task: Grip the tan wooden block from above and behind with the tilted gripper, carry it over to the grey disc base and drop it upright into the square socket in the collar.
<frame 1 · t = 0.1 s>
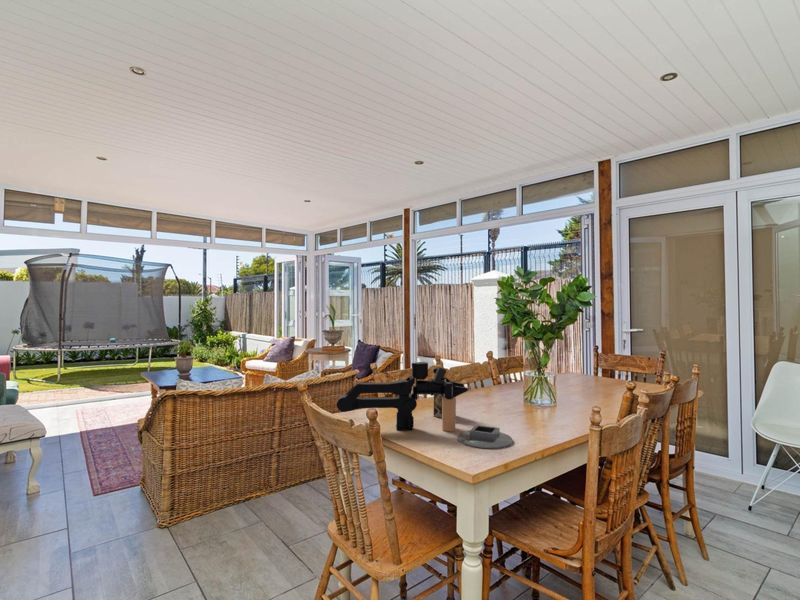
hand: (465, 387, 179), 17 cm above the table, tool horizontal, fingers open, 9 cm apart
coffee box: (444, 416, 197), on the table
grey disc base: (484, 440, 162), on the table
tan wooden block: (448, 429, 176), on the table
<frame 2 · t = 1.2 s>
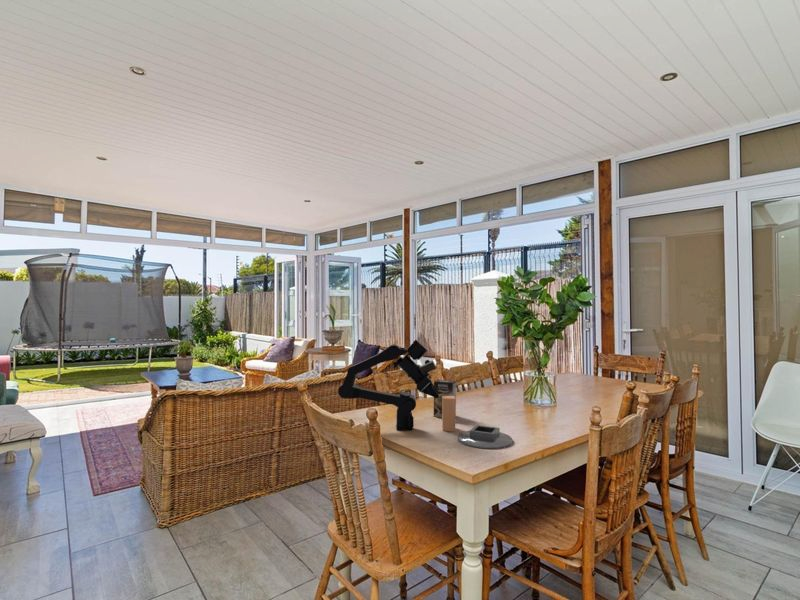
hand: (437, 395, 176), 14 cm above the table, tool tilted 45°, fingers open, 9 cm apart
nothing on the table moved.
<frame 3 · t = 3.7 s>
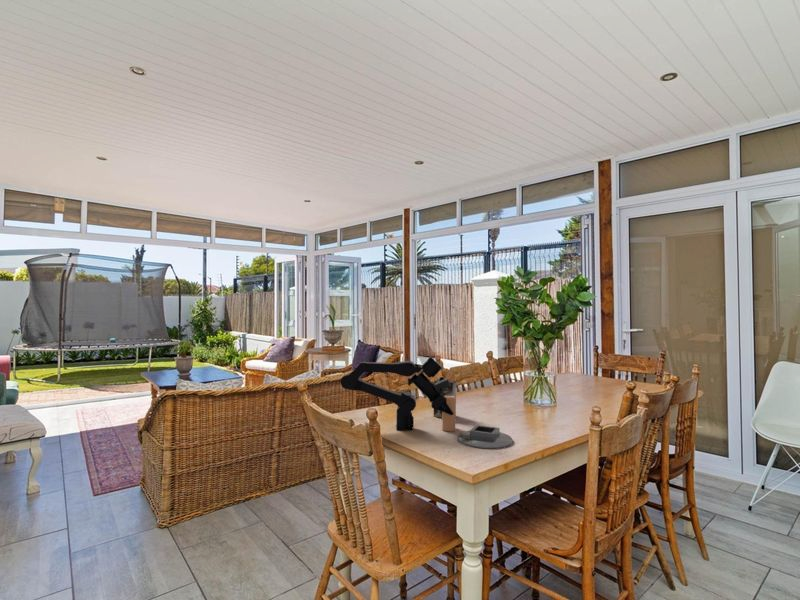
hand: (452, 412, 176), 7 cm above the table, tool tilted 45°, fingers closed on tan wooden block, 5 cm apart
tan wooden block: (448, 429, 176), on the table, touching gripper
everything else where it was.
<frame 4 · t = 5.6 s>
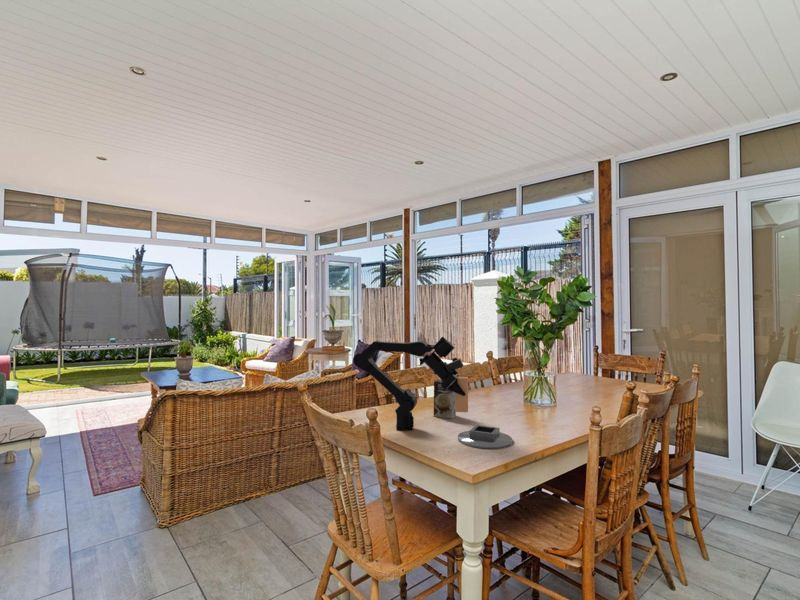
hand: (465, 393, 172), 15 cm above the table, tool tilted 45°, fingers closed on tan wooden block, 5 cm apart
tan wooden block: (461, 410, 172), point 8 cm above the table, touching gripper
everything else where it was.
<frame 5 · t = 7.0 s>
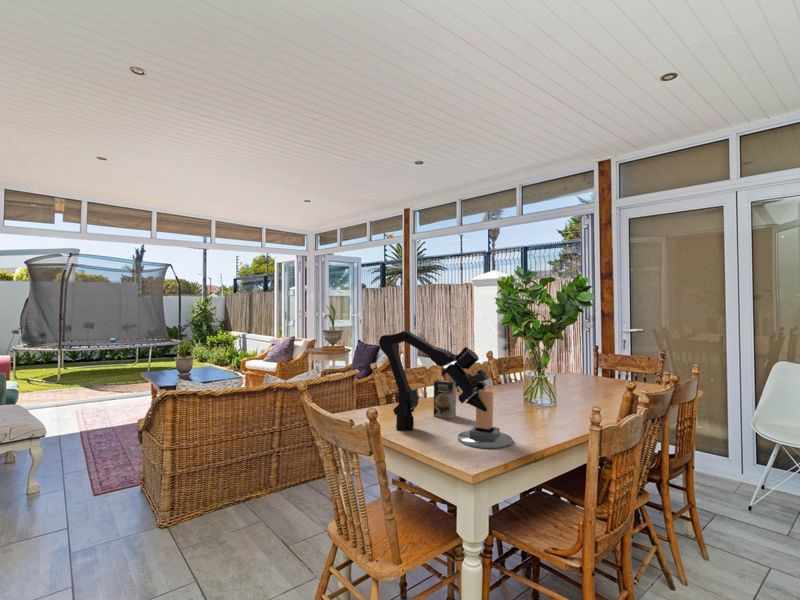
hand: (488, 409, 161), 12 cm above the table, tool tilted 45°, fingers closed on tan wooden block, 5 cm apart
tan wooden block: (484, 426, 162), point 5 cm above the table, touching gripper
everything else where it was.
when the fingers open (9 cm above the table, at t = 7.9 s): tan wooden block drops 1 cm, resting on grey disc base.
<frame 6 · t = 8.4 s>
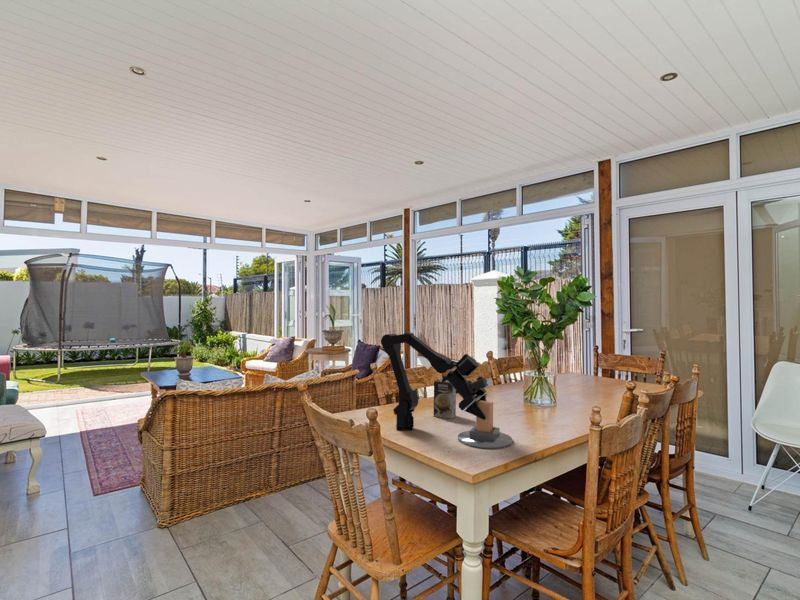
hand: (488, 416, 161), 9 cm above the table, tool tilted 45°, fingers open, 9 cm apart
tan wooden block: (484, 437, 162), point 1 cm above the table, touching grey disc base
everything else where it was.
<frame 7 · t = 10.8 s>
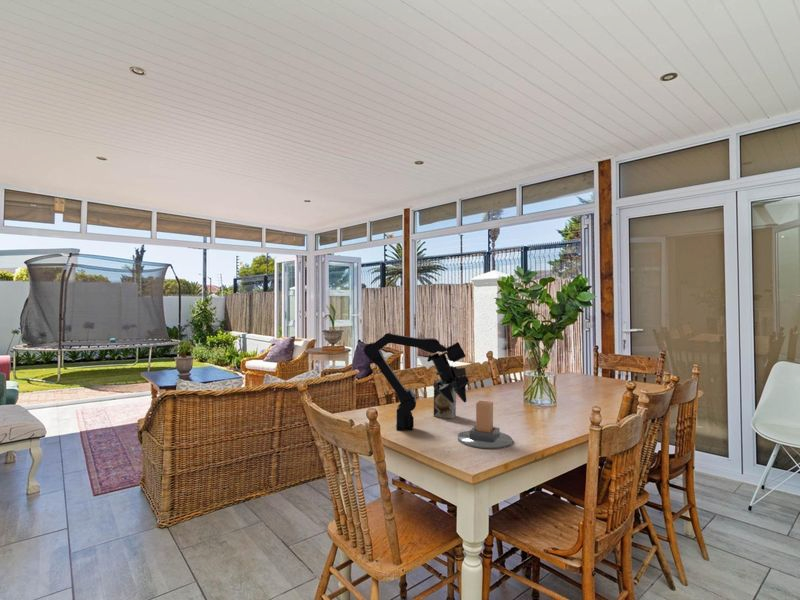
hand: (459, 402, 176), 11 cm above the table, tool tilted 25°, fingers open, 9 cm apart
nothing on the table moved.
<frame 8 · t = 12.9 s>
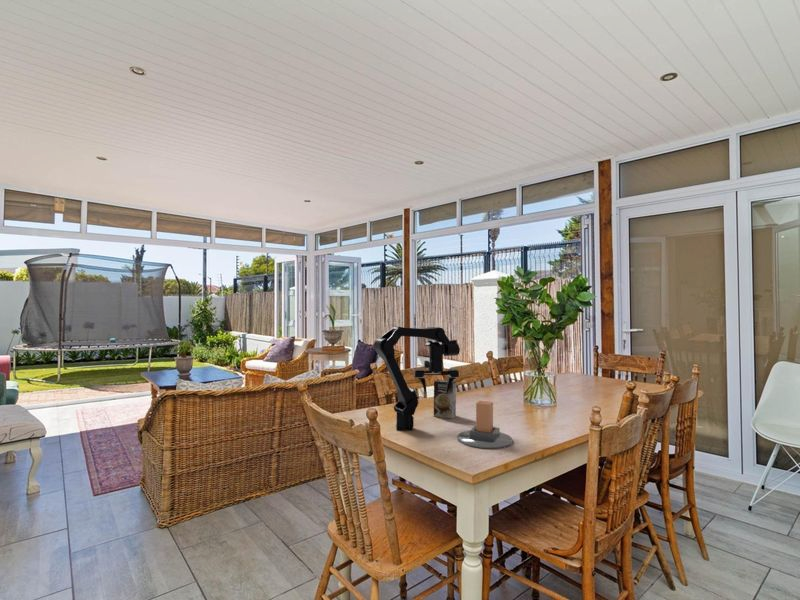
hand: (436, 393, 184), 13 cm above the table, tool pointing down, fingers open, 9 cm apart
nothing on the table moved.
at the end: tan wooden block 0.1 cm off-centre on the grey disc base, point 1.0 cm above the grey disc base's base; tan wooden block tilted 0°; the gripper is holding nothing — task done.
